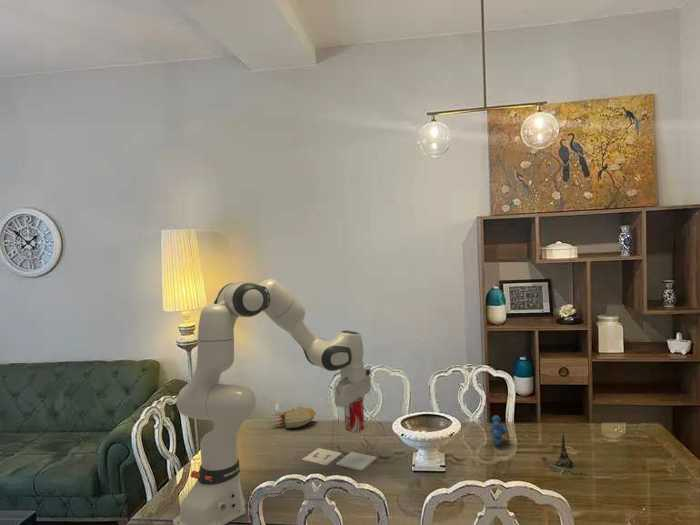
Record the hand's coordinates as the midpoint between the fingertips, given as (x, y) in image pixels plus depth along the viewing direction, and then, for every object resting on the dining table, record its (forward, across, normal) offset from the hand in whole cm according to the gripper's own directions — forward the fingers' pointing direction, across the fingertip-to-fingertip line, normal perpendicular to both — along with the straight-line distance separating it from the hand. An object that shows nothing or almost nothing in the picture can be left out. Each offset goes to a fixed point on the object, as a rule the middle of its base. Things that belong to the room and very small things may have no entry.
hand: (354, 411), depth 186 cm
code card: (+19, -2, +14) cm, 23 cm away
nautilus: (+19, +20, +45) cm, 52 cm away
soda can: (+7, 0, 0) cm, 7 cm away
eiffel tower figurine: (+20, +28, -67) cm, 75 cm away
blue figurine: (+19, +36, -43) cm, 59 cm away
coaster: (+19, 0, 0) cm, 19 cm away
